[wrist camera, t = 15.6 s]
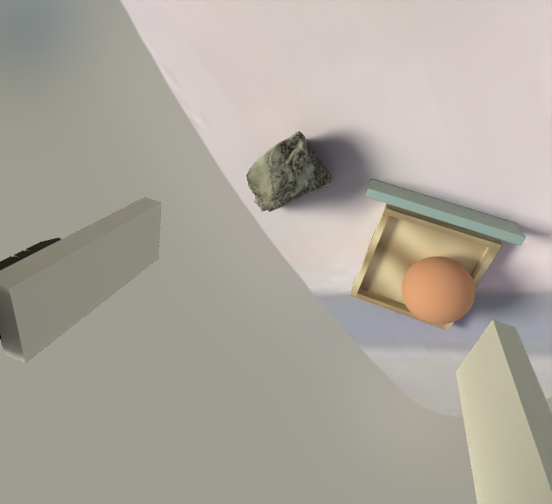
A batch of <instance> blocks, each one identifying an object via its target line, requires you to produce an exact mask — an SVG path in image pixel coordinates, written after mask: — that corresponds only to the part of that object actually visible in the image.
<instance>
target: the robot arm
mask: <svg viewBox="0 0 552 504" xmlns="http://www.w3.org/2000/svg"><path fill="white" fill-rule="evenodd" d="M160 219H161V202H157V201H155V200H152V199H149V198H146V197H144V198H142V199H140V200H138V201H136V202H134V203H132V204H130V205H128V206H126V207H124V208H122V209H120V210H118V211H117V212H114V213H112V214H111V215H109V216H107V217H105V218H103V219H101V220H99V221H97V222H95V223H93V224H91V225H89V226H87V227H85V228H83V229H81V230H79V231H77V232H75V233H73V234H71V235H69V236H68V237H66V238H63V239H60V238H55V239H51V240H47V241H43V242H40V243H38V244H35V245H33V246H31V247H30V248H27V249H26V251H21V252H19V253H17V254H15V255H14V257H9V258H7V259H5V260H3V261H1V262H0V339H1V342H2V346H3V350H4V353H5V354H7V355H9V356H11V357H13V358H16V359H18V360H20V361H22V362H24V363H26V362H27V361H29V360H30V359H32V358H33V357H34V356H35V355H37V354H38V353H39V352H40V351H41V350H43V349H44V348H46V347H47V346H48V345H49V344H51V343H52V342H53V341H54V340H56V339H57V338H58V337H59V336H61V335H62V334H63V333H65V332H66V331H67V330H68V329H69V328H71V327H72V326H73V325H75V324H76V323H77V322H79V321H80V320H81V319H82V318H83V317H85V316H86V315H87V314H89V313H90V312H91V311H92V310H94V309H95V308H96V307H98V306H99V305H100V304H101V303H103V302H104V301H105V300H106V299H108V298H109V297H110V296H112V295H113V294H114V293H115V292H117V291H118V290H119V289H120V288H122V287H123V286H124V285H126V284H127V283H128V282H129V281H131V280H132V279H133V278H135V277H136V276H137V275H138V274H140V273H141V272H142V271H143V270H144V269H146V268H147V267H149V266H150V265H151V264H152V263H154V262H155V261H156V260H157V259H159V239H160ZM456 376H457V382H458V388H459V394H460V400H461V406H462V412H463V418H464V424H465V431H466V437H467V443H468V449H469V455H470V461H471V467H472V473H473V479H474V485H475V492H476V498H477V503H478V504H552V413H551V411H550V409H549V406H548V404H547V401H546V399H545V397H544V394H543V392H542V389H541V387H540V385H539V382H538V380H537V377H536V375H535V373H534V370H533V368H532V365H531V363H530V361H529V358H528V356H527V354H526V351H525V349H524V346H523V344H522V342H521V339H520V337H519V334H518V332H517V330H516V328H515V327H513V326H510V325H507V324H504V323H501V322H498V321H496V320H492V321H491V323H490V324H489V326H488V327H487V328H486V330H485V331H484V333H483V334H482V336H481V337H480V338H479V340H478V341H477V343H476V344H475V346H474V347H473V348H472V350H471V351H470V353H469V354H468V356H467V357H466V358H465V360H464V361H463V363H462V364H461V366H460V367H459V368H458V370H457V371H456Z"/></svg>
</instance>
